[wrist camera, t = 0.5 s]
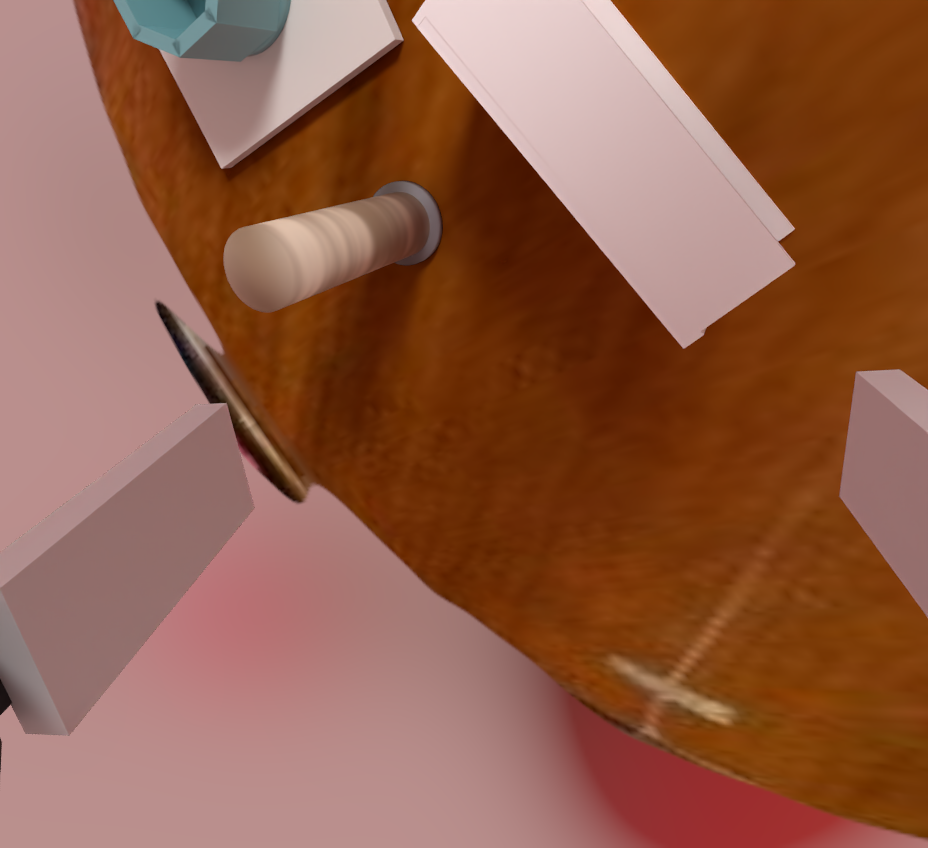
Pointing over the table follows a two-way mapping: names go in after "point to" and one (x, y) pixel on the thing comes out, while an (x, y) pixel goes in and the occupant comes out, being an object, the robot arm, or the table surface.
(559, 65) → the cigarette display
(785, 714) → the table surface
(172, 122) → the table surface
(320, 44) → the octagonal cup on tile
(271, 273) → the pillar candle on dish
